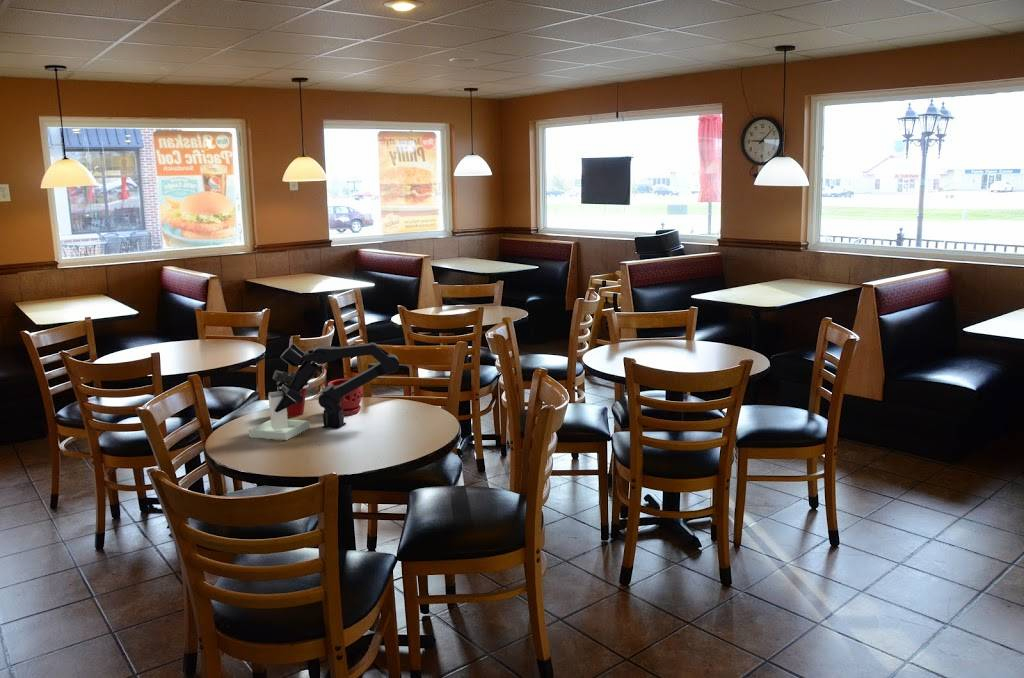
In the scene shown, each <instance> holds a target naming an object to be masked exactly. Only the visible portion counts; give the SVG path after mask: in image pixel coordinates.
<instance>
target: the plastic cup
mask: <svg viewBox="0 0 1024 678" xmlns="http://www.w3.org/2000/svg"><path fill="white" fill-rule="evenodd" d="M308 387H309V384H308V385H307V386H306V385H305V386H304V387H303V389H302V390H301V391H300V392H301V395H302V396H303V401H302V402H301V403H300V404H299V403H298V402H297V403H296V404H293V405H291V406H289V407H287V416H289V417H299V415H300V416H302V415H304V411H305V402H306V394H307V390H308Z"/></svg>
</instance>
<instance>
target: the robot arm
mask: <svg viewBox="0 0 1024 678" xmlns="http://www.w3.org/2000/svg"><path fill="white" fill-rule="evenodd" d="M362 356H363V357H364V356H372V357H373V358H374V359H375V360H376V361H377V362H376V363H375V364H374V365H372V366H370V368H367V369H366V370H364V371H362V372H361V373H358V374H357V375H355V376H353V377H352V378H349V379H350V380H348V381H346V382H344V383H342V384H340V385H337V386H334V385H333V383H332V384H330V385H329V386H328V385H327V386H326V387H325V386H324V387H322V390H321V391H320V392H319V394H318V400H317V401H318V402H317V403H318V405H319V406H320V407H321V408H323V414H322V423H323V425H322V427H321V428H322V429H336V430H337V429H340V428H342V427H344V426H345V425H347V422H345V421H344V420H345V419H344V415H343V409H341V401H340V399H341V398H342V397H343V396H344V395H346V394H348V393H350V392H351V391H353V390H355V389H357V388H359V387H360V386H362V387H363V386H364V385H365V384H367V383H369V382H371V381H373V380H374V379H376V378H379V377H382V376H387V375H389V374H393V373H395V372H397V371H398V370H399V368H400V361H399V359H398V356H397V355H396V354H394V353H389V352H387V351H386V350H385V349H383V348H382V347H381V346H379V345H378V344H377V343H376V342H369V343H361V344H354V345H353V344H352V345H345V346H332V345H318V346H317V345H316V346H315V348H313V349H310V350H309V349H308V350H305V351H303V350H302V349H301V348H300V347H298V346H297V345H296V344H295V343H294V342H293V343H292V344H291V345H290V346H289V347H288V348H286V349H285V350H284V352H282V354H281V355H280V359H281V360H283V361H284V362H285V363H287V365H290V366H291V367H292V368H293V367H294V368H295V367H296V368H297V367H298V368H297V370H295V371H291V373H288V372H286V371H281V370H276V369H275V370H274V372H273V375H272V380H274V381H275V382H276V385H277V386H276V388H277V391H283V392H282V399H281V401H280V402H279V404H278V405H277V407H276V409H275V412H279V411H281V410H283V409H285V408H287V407H289V406H291V405H293V404H296V403H297V402H298V403H299V404H300V403H301V402H302V401H303V396H302V395H301V392H300V391H301V390H302V389H303V387H304V386H305V385H306V386H307V385H308V386H309V381H310V380H311V379H312V378H313V377H314V375H315V374H316V373H317V371H318V372H319V373H320V374H323V373H324V371H323V364H328V363H330V362H333V361H336V360H339V359H344V358H354V357H362ZM301 363H302V364H301ZM300 364H301V365H300Z"/></svg>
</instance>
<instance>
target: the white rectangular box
mask: <svg viewBox="0 0 1024 678" xmlns="http://www.w3.org/2000/svg"><path fill="white" fill-rule="evenodd" d="M282 392H283V391H278V390H277V391H273V392H272V391H270V392H268V395H267V397H268V404H269V405H268V406H269V415H270V416H269V417H270V420H271V427H272V428H273V429H274V430H278V429H284V428H288V419H289V418H288V413H287V408H285V409H283V410H281V411H279V412H275V409H276V407H277V405H278V404H279V402H280V401H281V399H282Z"/></svg>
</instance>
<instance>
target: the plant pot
mask: <svg viewBox="0 0 1024 678" xmlns="http://www.w3.org/2000/svg"><path fill="white" fill-rule="evenodd" d="M350 379H351V378H340V379H335V380H331V381H329V382H328V383H327V386H329V385H330V384H332V383H333V385H334V386H337V385H340V384H342V383H344V382H346V381H348V380H350ZM362 397H363V385H362V386H360V387H359V388H357V389H355V390H353V391H351V392H350V393H348V394H346V395H344V396H343V397H342V398H341V399H340V401H341V409H343V416H347V415H348V416H350V415H354V414H357V413H358V412H360V410H361V408H362V407H361V401H362V399H363V398H362Z"/></svg>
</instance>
